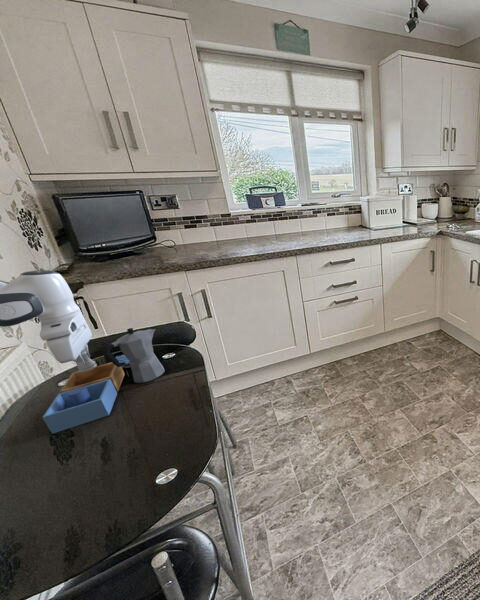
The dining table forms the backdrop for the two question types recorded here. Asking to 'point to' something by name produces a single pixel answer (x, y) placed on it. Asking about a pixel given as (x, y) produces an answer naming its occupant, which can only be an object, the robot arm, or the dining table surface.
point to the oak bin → (95, 377)
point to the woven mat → (123, 359)
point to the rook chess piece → (89, 363)
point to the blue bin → (80, 407)
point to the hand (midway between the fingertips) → (84, 361)
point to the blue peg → (79, 396)
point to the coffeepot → (137, 355)
